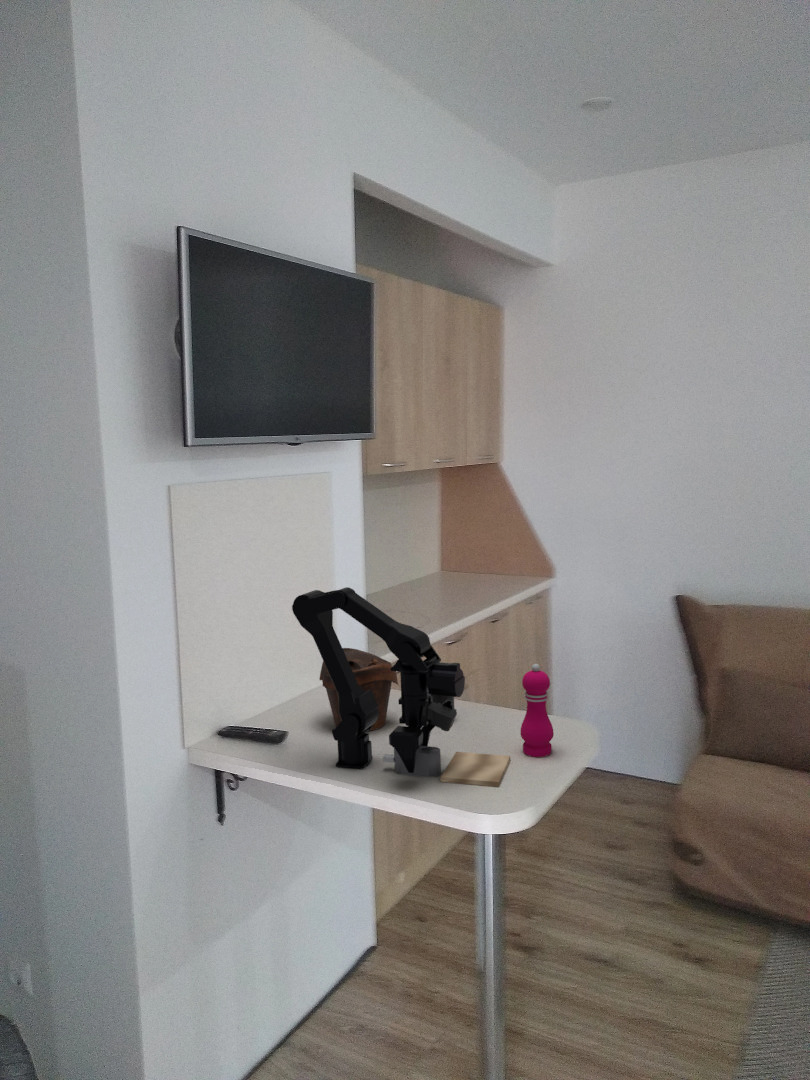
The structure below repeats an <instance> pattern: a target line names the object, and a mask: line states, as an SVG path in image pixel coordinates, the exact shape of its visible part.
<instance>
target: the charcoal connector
mask: <svg viewBox="0 0 810 1080" xmlns="http://www.w3.org/2000/svg"><path fill="white" fill-rule="evenodd" d="M382 762H384V763H393V764H394V773H396V774H397V775H402V776H404V775H405V776H413V777H414V776H416V777H427V778H435V777H439V776H440V775H442V764H441V762H442V759H441V748H439V747H437V746H429V745H428V746H420V748H419V749H417V752H416V760H415V768H414V772H413V773H409V772H408V771H407V769H406V767H405V765H404V763H403V761H402V759H401V758H400V756H399V754H398V753H397V751H396V749H395V748H394V747H393V754H388V753H385V754H384V755H383V756H382Z"/></svg>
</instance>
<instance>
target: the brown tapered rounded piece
mask: <svg viewBox="0 0 810 1080" xmlns="http://www.w3.org/2000/svg"><path fill="white" fill-rule="evenodd" d="M342 649H343V651H344V653H345V655H346V658H347V660H348V662H349V665H350V667H351V669H352V671H353V674H354V676H355V678H356V680H357V683H358V685H359V686H360V687H361V688H362V689H363V690H364V691H365V692H367V691H369V690H371V691H372V692H373V695H374V698H375V701H376V702H377V703H378V705H379V707H377V708H378V711H379V716H378V718H377V721H376V722H375V723H374V724H373V725H372V728H371V730H370V731H369V732H371V731H375V730H377V729H380V728H381V727H383V726H384V725H385V723H386V721H387V716H388V714H387V713H388V707H389V701H390V695H391V690H392V684H396V685H399V681H398V675H397V671H391V670H390V668H391V667H393V664H392V663H391V662H389V661H388V660H386V659H384V658H383V657H380V656H378V655H376V654H373V653H370V652H368V651H364V650H360V649H356V648H350V647H342ZM319 681H321V682H322V687H323V688H325V689H326V690H325V691H326V693H327V698H328V701H329V706H330V710H331V713H332V717H333V718H332V719H333V722H334V726H335V727H336V726H337V725H338V724H339V723H340V722H341V717H340V714H339V696H338V693H337V691H336V688H335V686H334V684H333V682H332V679H331V677H330V675H329V672H328V670H327V668H326V666H325V663H324V661H323V660H322V664H321V669H320V673H319Z"/></svg>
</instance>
